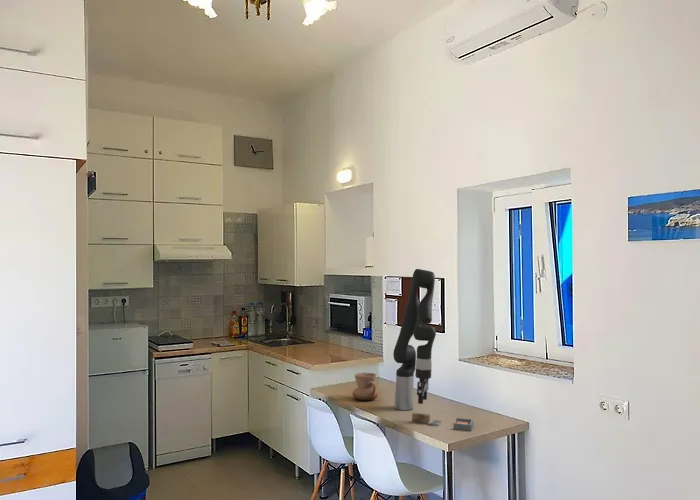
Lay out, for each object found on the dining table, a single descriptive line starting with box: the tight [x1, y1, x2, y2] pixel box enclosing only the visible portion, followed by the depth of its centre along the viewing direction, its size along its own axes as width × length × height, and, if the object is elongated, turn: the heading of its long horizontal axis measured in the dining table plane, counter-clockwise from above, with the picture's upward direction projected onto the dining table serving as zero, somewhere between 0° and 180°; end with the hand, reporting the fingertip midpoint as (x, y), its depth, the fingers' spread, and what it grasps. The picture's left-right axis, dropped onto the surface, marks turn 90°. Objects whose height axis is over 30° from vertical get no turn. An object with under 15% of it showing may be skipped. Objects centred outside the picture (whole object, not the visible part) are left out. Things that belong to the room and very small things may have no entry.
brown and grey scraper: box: [411, 412, 442, 427], centre depth 262 cm, size 13×7×4 cm, turn 72°
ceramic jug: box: [351, 372, 379, 402], centre depth 309 cm, size 18×14×14 cm
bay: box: [453, 417, 475, 432], centre depth 256 cm, size 8×11×2 cm
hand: (422, 401), depth 263 cm, fingers open, 8 cm apart
